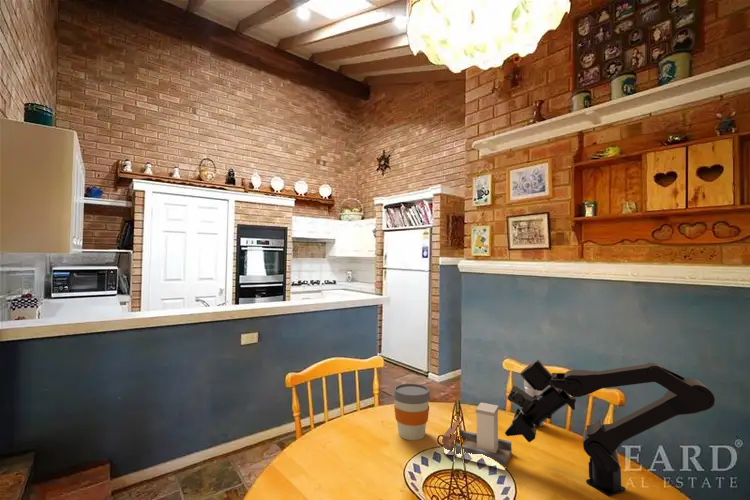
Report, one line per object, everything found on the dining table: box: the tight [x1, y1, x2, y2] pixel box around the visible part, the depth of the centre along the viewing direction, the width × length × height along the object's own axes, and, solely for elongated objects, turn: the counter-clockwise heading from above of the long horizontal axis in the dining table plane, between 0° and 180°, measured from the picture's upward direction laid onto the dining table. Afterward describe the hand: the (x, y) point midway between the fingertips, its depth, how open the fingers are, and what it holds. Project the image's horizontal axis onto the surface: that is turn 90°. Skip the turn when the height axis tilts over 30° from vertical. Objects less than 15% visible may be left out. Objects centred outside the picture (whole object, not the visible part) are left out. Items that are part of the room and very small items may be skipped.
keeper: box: [475, 402, 500, 453], centre depth 108 cm, size 5×6×13 cm
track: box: [442, 421, 513, 468], centre depth 110 cm, size 18×11×6 cm, turn 60°
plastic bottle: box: [523, 379, 545, 427], centre depth 130 cm, size 6×7×20 cm
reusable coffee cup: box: [393, 383, 431, 441], centre depth 123 cm, size 13×13×15 cm
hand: (506, 434), depth 106 cm, fingers closed
